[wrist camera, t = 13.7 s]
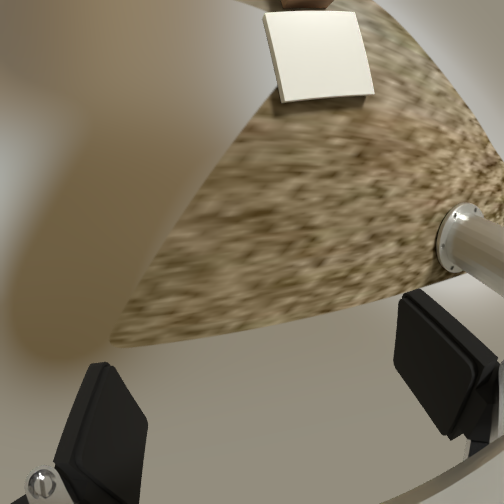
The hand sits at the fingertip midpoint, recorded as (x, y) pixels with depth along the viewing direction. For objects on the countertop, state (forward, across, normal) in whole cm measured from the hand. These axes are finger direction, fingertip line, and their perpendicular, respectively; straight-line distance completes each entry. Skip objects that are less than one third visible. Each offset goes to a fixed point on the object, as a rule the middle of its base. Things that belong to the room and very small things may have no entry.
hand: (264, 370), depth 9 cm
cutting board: (+30, -15, -16) cm, 37 cm away
